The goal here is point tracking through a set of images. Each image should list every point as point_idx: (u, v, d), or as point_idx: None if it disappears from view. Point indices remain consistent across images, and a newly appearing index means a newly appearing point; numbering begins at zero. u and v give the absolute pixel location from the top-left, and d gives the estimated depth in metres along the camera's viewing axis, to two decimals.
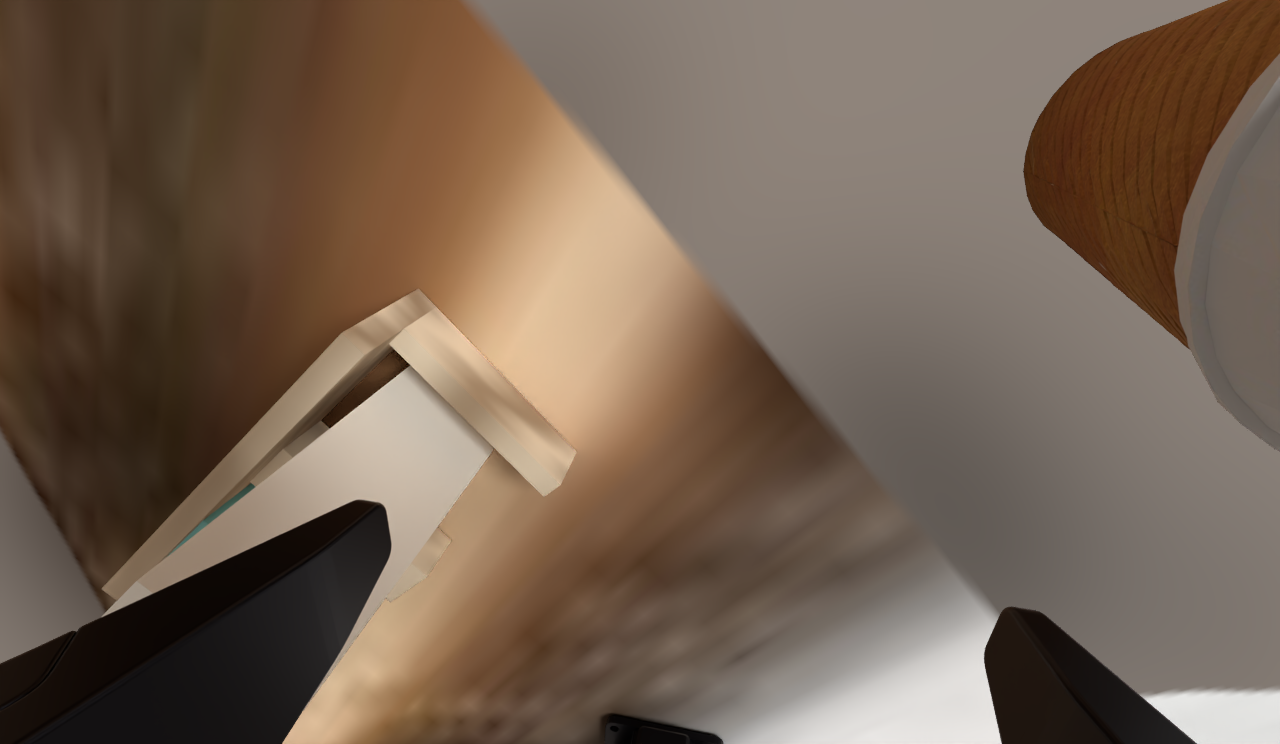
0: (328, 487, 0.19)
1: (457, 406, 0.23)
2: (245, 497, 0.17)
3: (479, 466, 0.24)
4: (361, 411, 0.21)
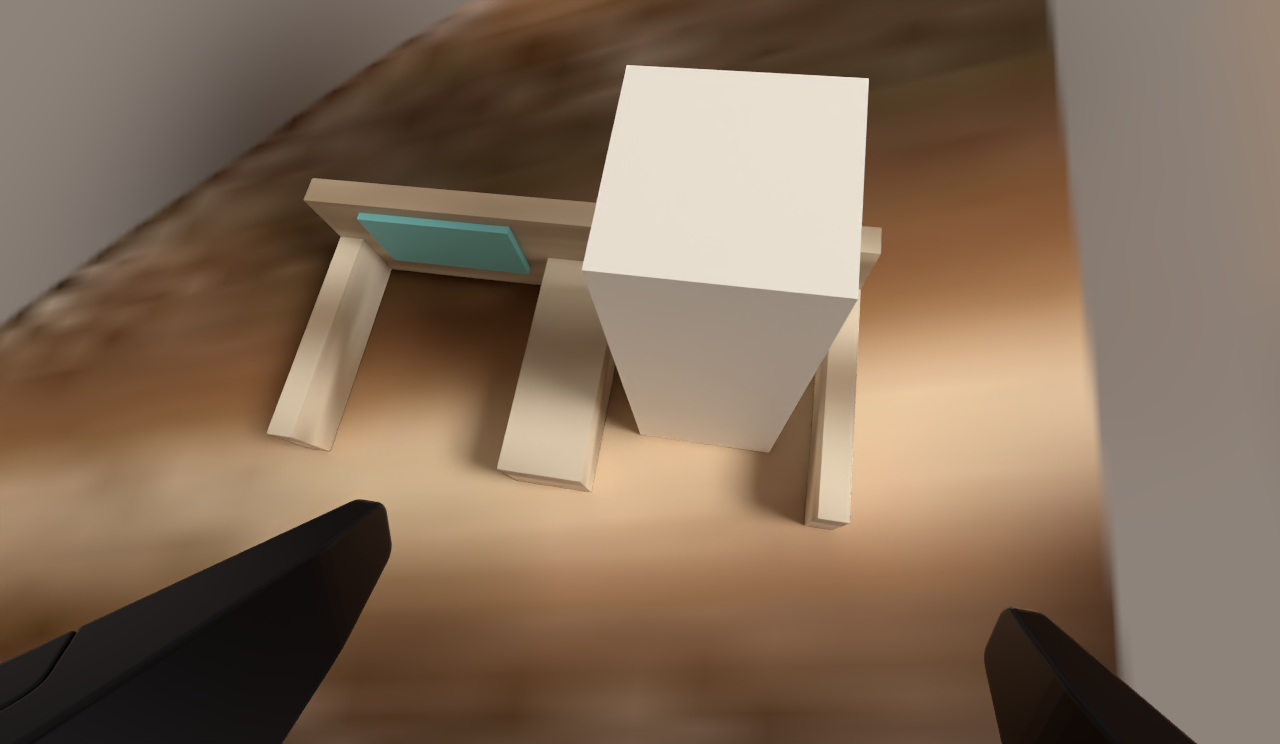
0: None
1: (832, 374, 0.21)
2: None
3: (776, 438, 0.20)
4: None
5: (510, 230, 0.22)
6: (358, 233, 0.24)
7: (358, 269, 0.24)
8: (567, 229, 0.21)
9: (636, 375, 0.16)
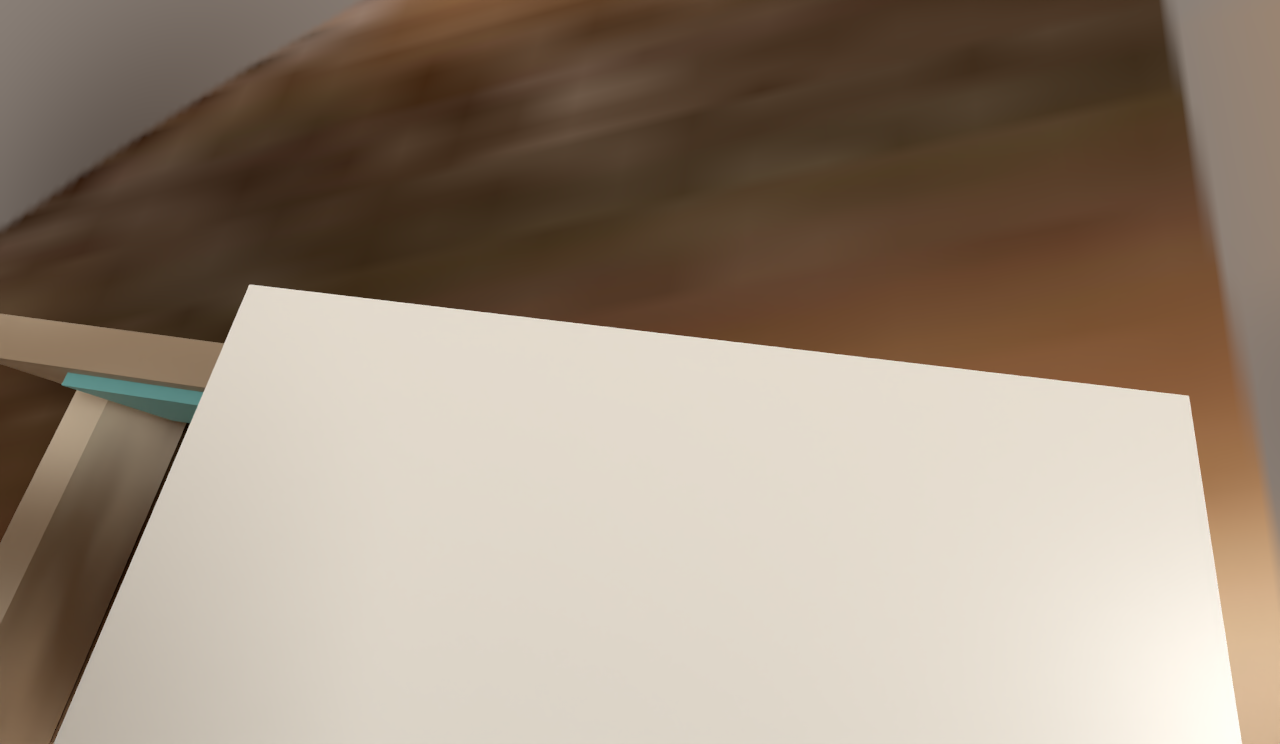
0: None
1: None
2: None
3: None
4: None
5: None
6: None
7: (103, 443, 0.15)
8: None
9: None
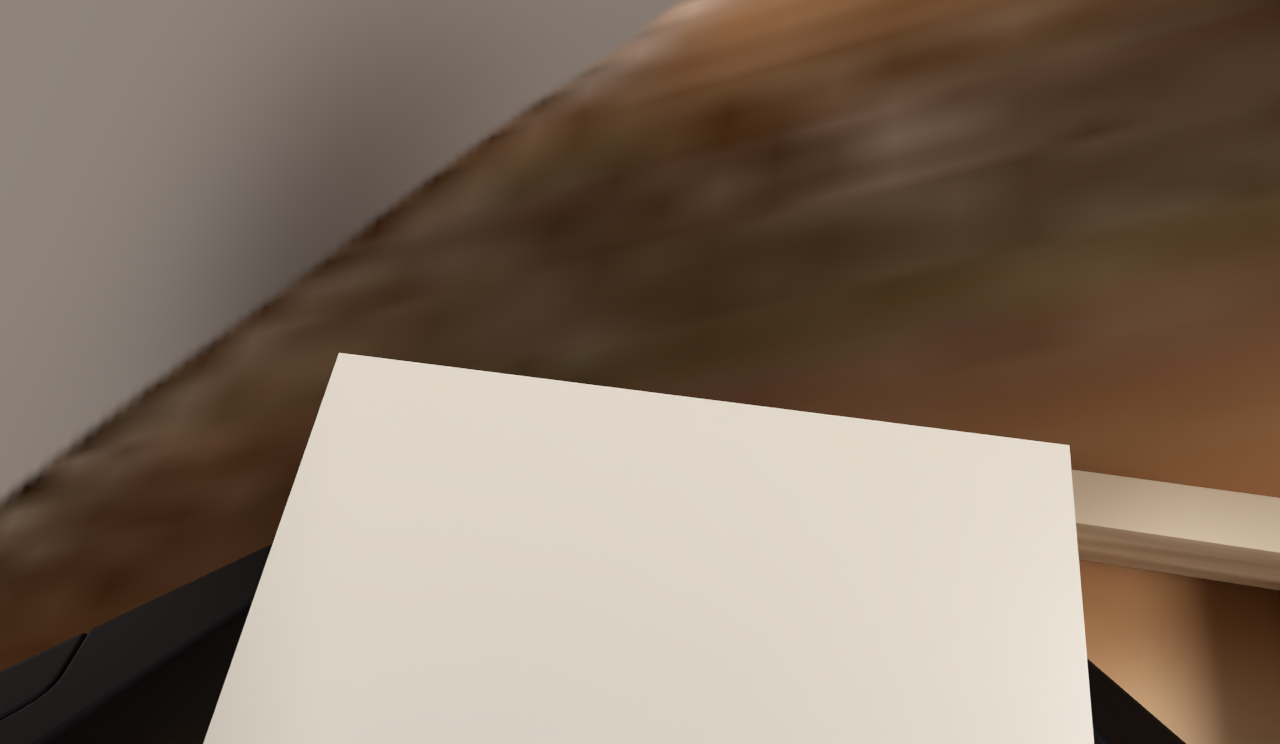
0: None
1: None
2: None
3: None
4: None
5: None
6: None
7: None
8: None
9: None
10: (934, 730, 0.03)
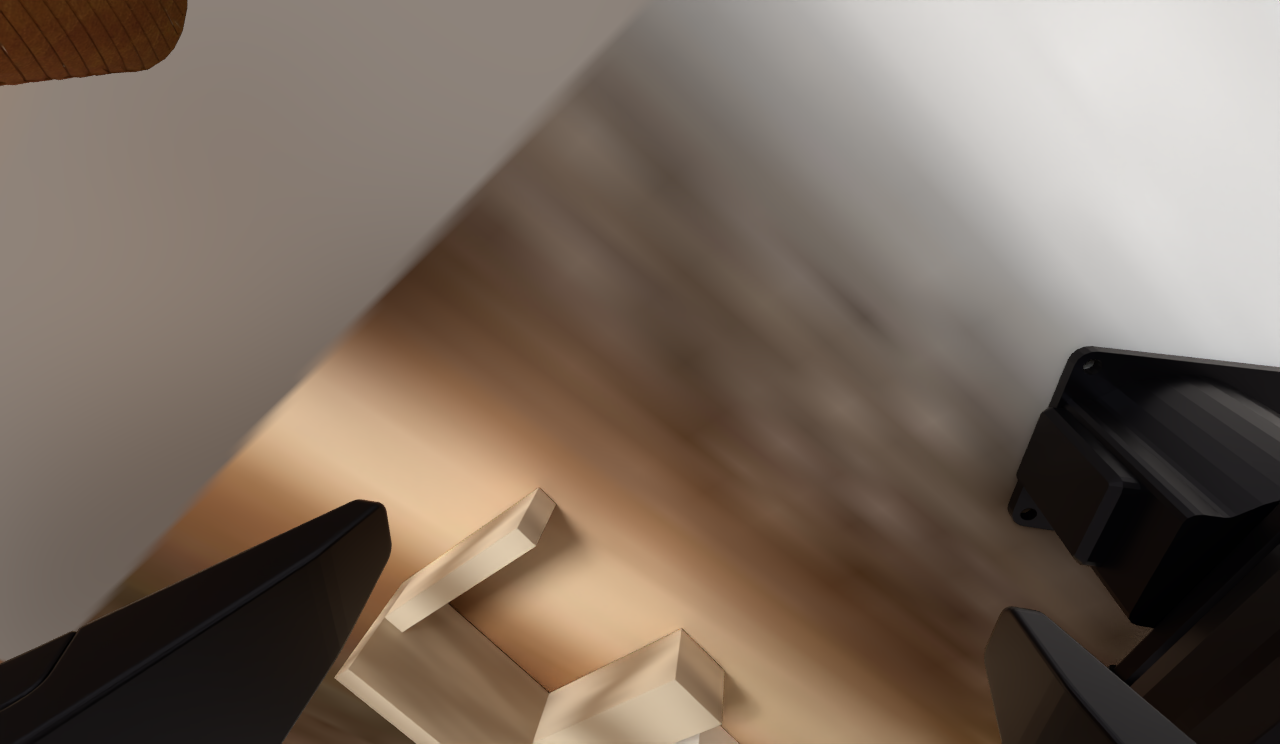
0: None
1: (448, 597, 0.24)
2: None
3: None
4: None
5: None
6: None
7: None
8: None
9: None
10: None
